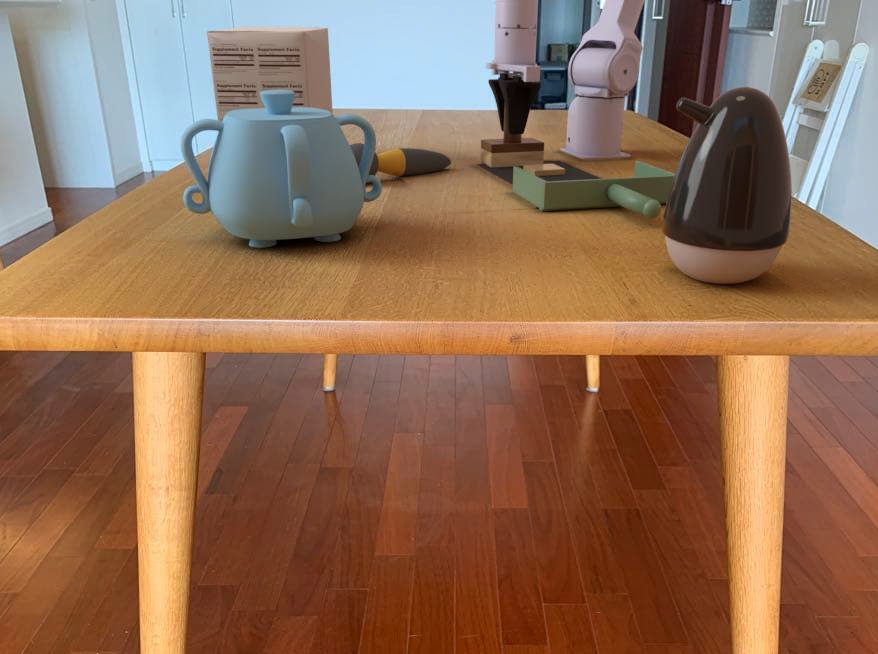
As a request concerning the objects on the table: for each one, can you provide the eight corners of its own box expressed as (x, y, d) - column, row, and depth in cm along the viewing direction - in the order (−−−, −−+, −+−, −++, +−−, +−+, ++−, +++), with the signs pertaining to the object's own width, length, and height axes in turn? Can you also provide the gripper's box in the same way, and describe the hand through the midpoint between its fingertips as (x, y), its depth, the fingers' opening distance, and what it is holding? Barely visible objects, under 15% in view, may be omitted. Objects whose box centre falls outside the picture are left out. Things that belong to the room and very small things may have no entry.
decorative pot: (170, 240, 79) (147, 92, 73) (283, 208, 92) (271, 80, 86) (296, 265, 72) (281, 103, 66) (400, 227, 84) (396, 87, 78)
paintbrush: (432, 166, 117) (432, 130, 115) (456, 171, 114) (456, 134, 111) (319, 185, 104) (316, 144, 102) (341, 190, 101) (339, 149, 99)
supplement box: (253, 152, 127) (240, 26, 120) (337, 153, 127) (329, 27, 119) (220, 172, 112) (202, 28, 104) (315, 173, 112) (305, 29, 104)
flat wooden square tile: (522, 170, 113) (523, 164, 113) (552, 169, 114) (553, 163, 114) (534, 176, 109) (534, 170, 109) (565, 174, 110) (565, 168, 110)
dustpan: (512, 193, 100) (513, 166, 99) (636, 187, 104) (638, 160, 103) (579, 233, 82) (581, 201, 81) (725, 223, 87) (729, 192, 85)
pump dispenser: (640, 259, 74) (660, 81, 67) (751, 258, 75) (781, 81, 68) (675, 294, 65) (701, 92, 58) (800, 293, 65) (841, 92, 59)
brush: (480, 162, 119) (481, 101, 115) (531, 159, 121) (533, 100, 117) (491, 167, 115) (492, 105, 111) (543, 165, 117) (546, 103, 113)
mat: (476, 166, 118) (476, 164, 118) (558, 162, 121) (559, 160, 121) (518, 190, 102) (518, 187, 102) (611, 185, 106) (612, 182, 105)
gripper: (472, 27, 115) (471, 126, 121) (505, 29, 103) (502, 140, 109) (518, 27, 117) (515, 125, 123) (557, 29, 105) (551, 138, 111)
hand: (512, 132), depth 116 cm, fingers closed on brush, 2 cm apart
